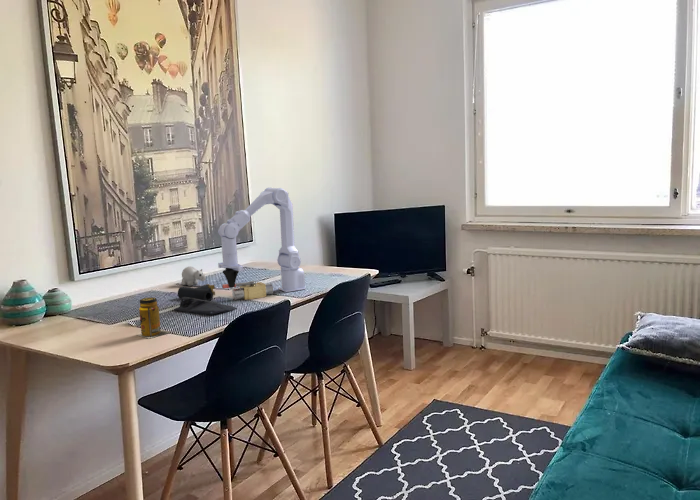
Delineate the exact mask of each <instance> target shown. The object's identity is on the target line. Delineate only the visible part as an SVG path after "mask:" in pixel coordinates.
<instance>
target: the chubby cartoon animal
mask: <svg viewBox="0 0 700 500" xmlns="http://www.w3.org/2000/svg"><path fill="white" fill-rule="evenodd" d="M181 278H182V279H181V285H182V286H186V285H187V287H189V286H190V287H192V286H194V285H198V283H199V281H200V282H205V281H206V279H207V277H206V273H203V269H202V268H201V269H199V270H198V269H197V268H196V267H194V266H186V267H185V268H184V269H183V270H182V272H181Z"/></svg>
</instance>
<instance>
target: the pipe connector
mask: <svg viewBox="0 0 700 500" xmlns="http://www.w3.org/2000/svg"><path fill="white" fill-rule="evenodd" d="M214 289H215V284H210V283H209V284H208V283H206V284H204V285H201V286H197V287H191V286H190V287H189V286H181V287H179V289H178V290H177V297H178V298H179V299H180V298H182V297H189V298H195V299H201V300H207V301H212V300H213V298H214V296H215V295H216V291H214Z"/></svg>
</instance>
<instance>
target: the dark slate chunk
mask: <svg viewBox="0 0 700 500" xmlns="http://www.w3.org/2000/svg"><path fill="white" fill-rule="evenodd" d="M237 309H238V308H237V307H236V306H232V305H229V304H228V305H227V304H222V303H220V302H216V301H212V300H211V301H207V300H201V299H195V298H189V297H182V298H181V299H180V303H179V306H178V307H174V309H173V310H174V311H176V312H181V313H182V312H183V313H187V312H189V313H188V314H196V313H198V315H204V314H205V315H206V316H208V315H210V316H211V315H212V316H213V315H217V314H221V313H228V312H232V311H236V310H237Z"/></svg>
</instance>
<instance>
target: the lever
mask: <svg viewBox="0 0 700 500" xmlns="http://www.w3.org/2000/svg"><path fill="white" fill-rule="evenodd" d="M256 283H257V281H255V280H251V281H248V282H237V283H236V282H235V287H234V288H238V287H240V286H246V285H256ZM221 286H222V289H230V288H229V285H228V283H225V284H223V283H222V285H221Z"/></svg>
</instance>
